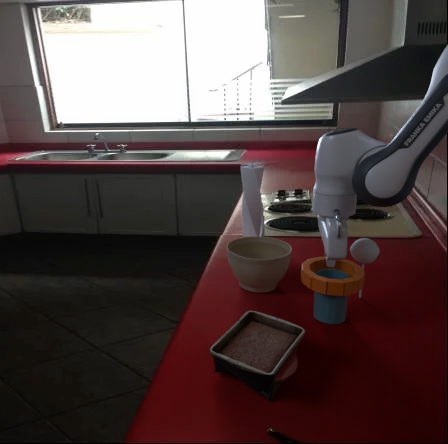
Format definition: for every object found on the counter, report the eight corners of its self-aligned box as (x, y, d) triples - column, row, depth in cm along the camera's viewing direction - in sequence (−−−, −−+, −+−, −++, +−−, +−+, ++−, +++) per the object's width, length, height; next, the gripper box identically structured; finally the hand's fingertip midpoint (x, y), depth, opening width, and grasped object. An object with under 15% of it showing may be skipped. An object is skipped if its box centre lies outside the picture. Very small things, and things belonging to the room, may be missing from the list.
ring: (357, 269, 95) (358, 257, 94) (368, 297, 84) (369, 284, 83) (299, 266, 98) (300, 255, 97) (302, 293, 87) (303, 280, 86)
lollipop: (375, 294, 101) (381, 236, 97) (373, 305, 96) (379, 245, 92) (347, 289, 104) (352, 233, 100) (344, 300, 100) (349, 241, 95)
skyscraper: (266, 247, 134) (268, 160, 125) (240, 247, 135) (240, 161, 127) (264, 238, 142) (265, 156, 133) (240, 238, 143) (240, 157, 135)
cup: (343, 309, 96) (346, 269, 92) (348, 325, 89) (351, 283, 86) (311, 307, 97) (314, 268, 94) (314, 322, 91) (317, 281, 88)
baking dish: (312, 374, 78) (315, 323, 77) (266, 417, 65) (268, 357, 64) (245, 351, 88) (246, 306, 86) (193, 385, 75) (193, 332, 73)
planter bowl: (284, 304, 99) (286, 262, 96) (219, 294, 106) (218, 254, 103) (294, 276, 113) (296, 239, 110) (236, 269, 120) (236, 233, 116)
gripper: (358, 219, 80) (352, 283, 85) (342, 192, 99) (338, 247, 103) (323, 218, 82) (319, 281, 86) (314, 192, 101) (311, 245, 105)
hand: (329, 262), depth 95 cm, fingers closed on ring, 2 cm apart
